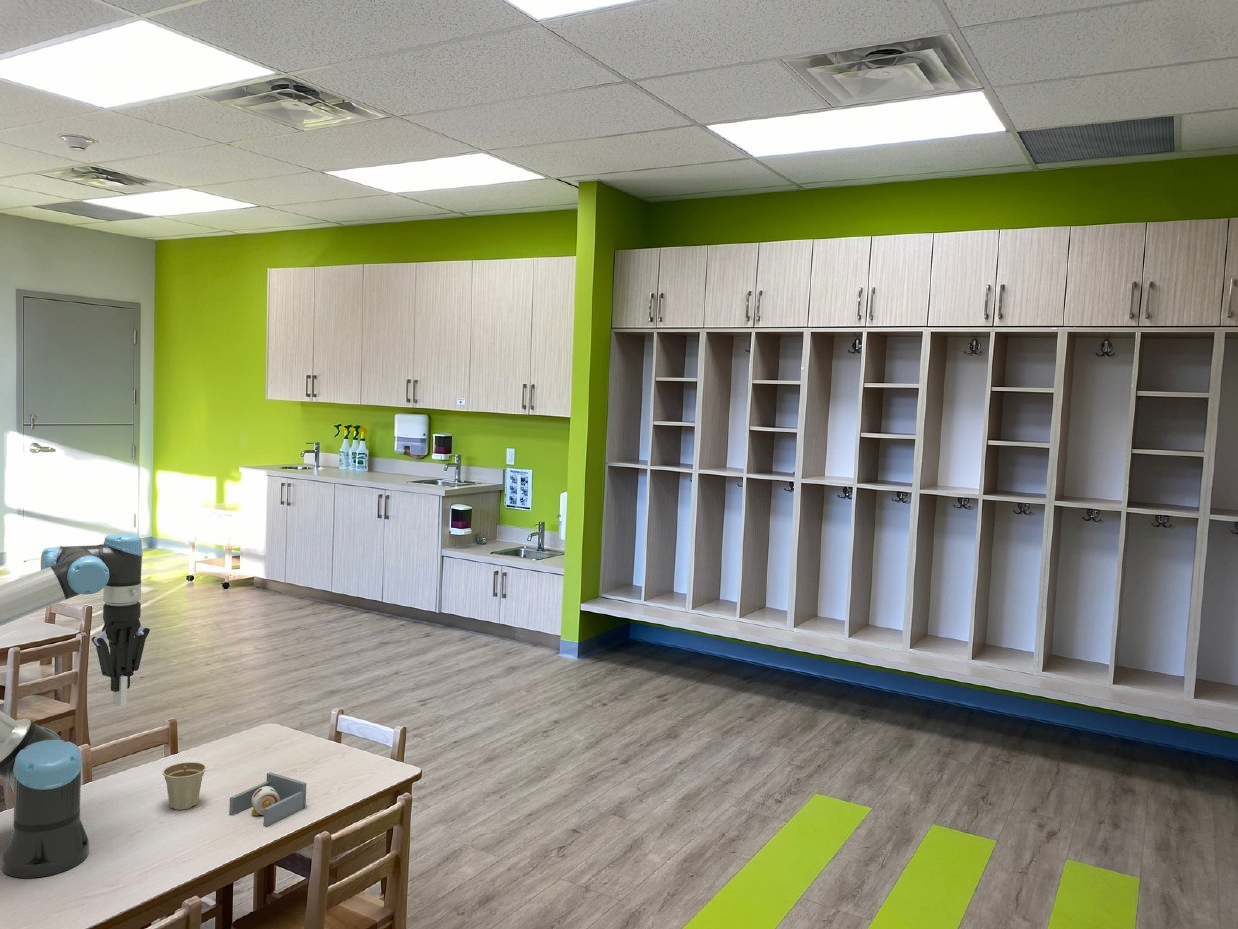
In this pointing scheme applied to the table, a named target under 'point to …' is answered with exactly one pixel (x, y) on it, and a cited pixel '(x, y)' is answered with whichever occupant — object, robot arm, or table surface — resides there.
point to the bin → (290, 802)
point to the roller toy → (263, 799)
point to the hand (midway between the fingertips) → (119, 704)
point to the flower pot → (184, 784)
